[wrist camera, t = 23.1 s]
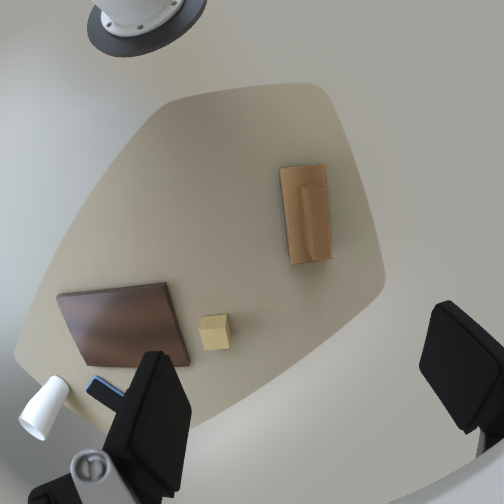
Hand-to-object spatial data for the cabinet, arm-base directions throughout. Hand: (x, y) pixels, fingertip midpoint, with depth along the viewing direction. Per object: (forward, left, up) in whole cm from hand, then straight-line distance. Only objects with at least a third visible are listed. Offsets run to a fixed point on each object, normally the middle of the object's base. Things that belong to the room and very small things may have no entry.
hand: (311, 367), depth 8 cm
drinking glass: (+28, -47, -26) cm, 61 cm away
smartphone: (+32, -32, -26) cm, 52 cm away
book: (+14, -24, -26) cm, 38 cm away
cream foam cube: (+15, -8, -26) cm, 31 cm away
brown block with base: (0, +5, -26) cm, 27 cm away
